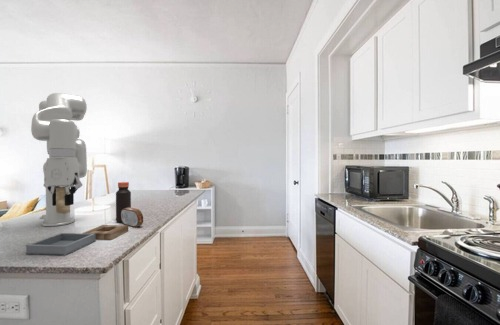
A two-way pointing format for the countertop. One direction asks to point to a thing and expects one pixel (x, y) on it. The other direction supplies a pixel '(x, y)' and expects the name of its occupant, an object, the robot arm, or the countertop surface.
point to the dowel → (61, 201)
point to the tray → (60, 244)
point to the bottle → (122, 199)
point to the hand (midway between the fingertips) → (63, 204)
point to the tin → (132, 217)
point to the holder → (108, 231)
